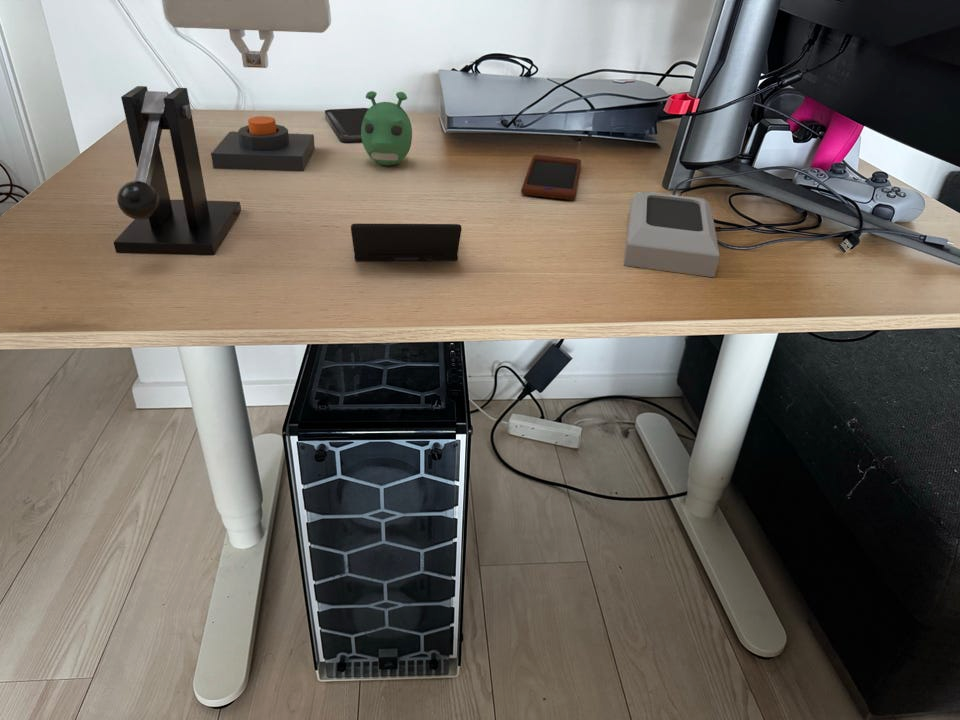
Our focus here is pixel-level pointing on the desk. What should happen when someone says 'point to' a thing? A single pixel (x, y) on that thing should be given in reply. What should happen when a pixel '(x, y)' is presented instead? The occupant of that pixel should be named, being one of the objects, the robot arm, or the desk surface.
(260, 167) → the button box
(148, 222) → the bracket
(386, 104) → the alien toy
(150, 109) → the lever
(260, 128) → the button
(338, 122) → the phone
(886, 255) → the desk surface
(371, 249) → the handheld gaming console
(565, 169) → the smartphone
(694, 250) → the grey tapered block
